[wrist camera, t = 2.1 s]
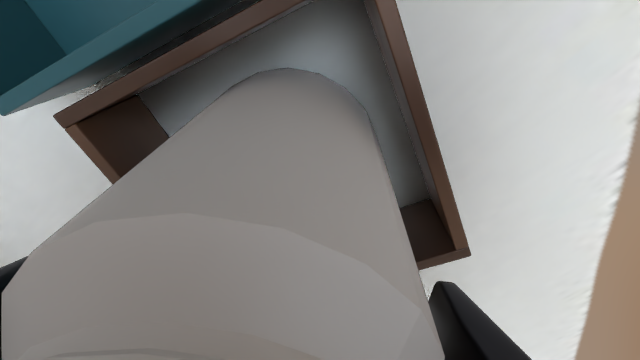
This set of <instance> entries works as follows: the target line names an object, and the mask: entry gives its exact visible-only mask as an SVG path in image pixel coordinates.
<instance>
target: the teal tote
mask: <svg viewBox="0 0 640 360" xmlns="http://www.w3.org/2000/svg"><path fill="white" fill-rule="evenodd" d="M241 1H242V0H0V114H1V115H2V116H6V115H9V114H11V113H14V112H17V111H20V110H23V109H26V108H29V107H32V106H34V105H37V104H40V103H43V102H46V101H49V100H52V99H55V98H57V97H60V96H63V95H66V94H69V93H72V92H75V91H78V90H80V89H83V88H86V87H89V86H91V85H93V84H95V83H97V82H98V81H100V80H102V79H104V78H105V77H107V76H109V75H111V74H113V73H114V72H116V71H118V70H120V69H121V68H123V67H125V66H127V65H129V64H130V63H132V62H134V61H136V60H137V59H139V58H141V57H143V56H145V55H146V54H148V53H150V52H152V51H153V50H155V49H157V48H159V47H161V46H162V45H164V44H166V43H168V42H169V41H171V40H173V39H175V38H177V37H178V36H180V35H182V34H184V33H185V32H187V31H189V30H191V29H193V28H194V27H196V26H198V25H200V24H201V23H203V22H205V21H207V20H209V19H210V18H212V17H214V16H216V15H218V14H219V13H221V12H223V11H225V10H226V9H228V8H230V7H232V6H234V5H235V4H237V3H239V2H241Z"/></svg>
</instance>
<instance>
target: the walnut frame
mask: <svg viewBox="0 0 640 360" xmlns="http://www.w3.org/2000/svg"><path fill="white" fill-rule="evenodd" d="M312 1H314V0H261V1H259V2H257V3H255V4H253V5H252V6H250V7H248V8H246V9H244V10H243V11H241V12H239V13H237V14H235V15H234V16H232V17H230V18H228V19H226V20H224V21H223V22H221V23H219V24H217V25H215V26H214V27H212V28H210V29H208V30H206V31H205V32H203V33H201V34H199V35H197V36H196V37H194V38H192V39H190V40H188V41H187V42H185V43H183V44H181V45H179V46H177V47H176V48H174V49H172V50H170V51H168V52H167V53H165V54H163V55H161V56H159V57H158V58H156V59H154V60H152V61H150V62H149V63H147V64H145V65H143V66H141V67H140V68H138V69H136V70H134V71H132V72H130V73H129V74H127V75H125V76H123V77H121V78H120V79H118V80H116V81H114V82H112V83H111V84H109V85H107V86H105V87H103V88H102V89H100V90H98V91H96V92H94V93H93V94H91V95H89V96H87V97H85V98H83V99H82V100H80V101H78V102H76V103H74V104H73V105H71V106H69V107H67V108H65V109H64V110H62V111H60V112H58V113H56V114H55V115H54V116H53V117H54V118H55V120H56V121H57V122H58V123H59V124H60V125H61V126H62V127H63V128H66V129H65V131H66V132H67V133H68V134H69V135H70V136H71V138H72V139H73V140H74V141H75V142H76V143H77V144H78V146H79V147H80V148H81V149H82V150H83V151H84V152H85V153H86V155H87V156H88V157H89V158H90V159H91V160H92V161H93V163H94V164H95V165H96V166H97V167H98V168H99V169H100V171H101V172H102V173H103V174H104V175H105V176H106V177H107V178H108V180H109V181H110V182H111V183H112V184H114V183H116V182H117V181H118V180H119V179H121V178H122V177H123V176H124V175H125V174H127V173H128V172H129V171H130V170H131V169H133V168H134V167H135V166H136V165H137V164H139V163H140V162H141V161H142V160H144V159H145V158H146V157H147V156H148V155H150V154H151V153H152V152H153V151H154V150H156V149H157V148H158V147H159V146H160V145H162V144H163V143H164V142H165V141H167V140H168V139H169V137H168V136H167V134H166V133H165V132H164V130H163V129H162V128H161V126H160V125H159V123H158V122H157V121H156V119H155V118H154V117H153V115H152V114H151V112H150V111H149V110H148V108H147V107H146V105H145V104H144V103H143V101H142V100H141V99H140V97H139V96H138V95H136V94H138V93H140V92H142V91H144V90H146V89H148V88H150V87H152V86H153V85H155V84H157V83H159V82H161V81H163V80H165V79H167V78H169V77H170V76H172V75H174V74H176V73H178V72H180V71H182V70H184V69H186V68H188V67H189V66H191V65H193V64H195V63H197V62H199V61H201V60H203V59H205V58H206V57H208V56H210V55H212V54H214V53H216V52H218V51H220V50H222V49H223V48H225V47H227V46H229V45H231V44H233V43H235V42H237V41H239V40H241V39H242V38H244V37H246V36H248V35H250V34H252V33H254V32H256V31H258V30H259V29H261V28H263V27H265V26H267V25H269V24H271V23H273V22H275V21H276V20H278V19H280V18H282V17H284V16H286V15H288V14H290V13H292V12H293V11H295V10H297V9H299V8H301V7H303V6H305V5H307V4H309V3H311V2H312ZM363 1H364V4H365V7H366V10H367V13H368V16H369V19H370V22H371V25H372V28H373V30H374V33H375V36H376V39H377V42H378V45H379V48H380V51H381V54H382V57H383V60H384V63H385V66H386V69H387V72H388V75H389V77H390V80H391V83H392V86H393V89H394V92H395V95H396V98H397V101H398V104H399V107H400V110H401V113H402V116H403V119H404V122H405V124H406V127H407V130H408V133H409V136H410V139H411V142H412V145H413V148H414V151H415V154H416V157H417V160H418V163H419V166H420V169H421V171H422V174H423V177H424V180H425V183H426V186H427V189H428V192H429V195H430V199H427V200H424V201H421V202H418V203H415V204H412V205H409V206H406V207H403V208H400V209H399V210H400V213H401V216H402V219H403V223H404V226H405V229H406V232H407V236H408V239H409V242H410V245H411V249H412V252H413V255H414V258H415V261H416V265H417V268H418V271H419V270H422V269H426V268H429V267H433V266H437V265H440V264H444V263H447V262H451V261H454V260H458V259H462V258H465V257H469V256H471V252H470V249H469V246H468V242H467V239H466V236H465V232H464V229H463V226H462V222H461V219H460V216H459V212H458V209H457V205H456V202H455V199H454V195H453V192H452V189H451V185H450V182H449V179H448V175H447V172H446V169H445V165H444V162H443V159H442V155H441V152H440V149H439V145H438V142H437V138H436V135H435V132H434V128H433V125H432V122H431V118H430V115H429V112H428V108H427V105H426V102H425V98H424V95H423V92H422V88H421V85H420V82H419V78H418V75H417V71H416V68H415V65H414V61H413V58H412V55H411V51H410V48H409V45H408V41H407V38H406V35H405V31H404V28H403V25H402V21H401V18H400V15H399V11H398V8H397V4H396V1H395V0H363Z"/></svg>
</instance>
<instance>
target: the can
mask: <svg viewBox="0 0 640 360" xmlns="http://www.w3.org/2000/svg"><path fill="white" fill-rule="evenodd" d="M1 351H2V360H445V355H444V352H443V349H442V346H441V342H440V339H439V336H438V333H437V330H436V326H435V323H434V320H433V317H432V313H431V310H430V307H429V304H428V300H427V297H426V294H425V291H424V287H423V284H422V281H421V278H420V274H419V271H418V268H417V265H416V261H415V258H414V255H413V252H412V249H411V245H410V242H409V239H408V236H407V232H406V229H405V226H404V223H403V219H402V216H401V213H400V210H399V206H398V203H397V200H396V197H395V193H394V190H393V187H392V184H391V180H390V177H389V174H388V171H387V168H386V164H385V161H384V158H383V155H382V151H381V148H380V145H379V142H378V138H377V135H376V133H375V130H374V128H373V126H372V124H371V121H370V119H369V117H368V114H367V112H366V110H365V109H364V107H363V106H362V105H361V104H360V103H359V102H358V101H357V100H356V99H355V98H354V97H353V96H352V95H351V93H350V92H349V91H348V90H347V89H346V88H345V87H343V86H341V85H339V84H337V83H335V82H334V81H332V80H330V79H328V78H326V77H324V76H323V75H321V74H319V73H314V72H309V71H303V70H298V69H292V68H283V69H276V70H270V71H263V72H257V73H256V74H254V75H252V76H250V77H248V78H246V79H245V80H243V81H241V82H239V83H237V84H235V85H233V86H232V87H231V88H229V89H228V90H227V91H226V92H225V93H223V94H222V95H221V96H220V97H219V98H217V99H216V100H215V101H214V102H213V103H211V104H210V105H209V106H208V107H206V108H205V109H204V110H203V111H202V112H200V113H199V114H198V115H197V116H196V117H194V118H193V119H192V120H191V121H190V122H188V123H187V124H186V125H185V126H183V127H182V128H181V129H180V130H179V131H177V132H176V133H175V134H174V135H173V136H171V137H170V138H169V139H168V140H167V141H165V142H164V143H163V144H162V145H160V146H159V147H158V148H157V149H156V150H154V151H153V152H152V153H151V154H150V155H148V156H147V157H146V158H145V159H144V160H142V161H141V162H140V163H139V164H137V165H136V166H135V167H134V168H133V169H131V170H130V171H129V172H128V173H127V174H125V175H124V176H123V177H122V178H121V179H119V180H118V181H117V182H116V183H114V184H113V185H112V186H111V187H110V188H108V189H107V190H106V191H105V192H104V193H102V194H101V195H100V196H99V197H98V198H96V199H95V200H94V201H93V202H91V203H90V204H89V205H88V206H87V207H85V208H84V209H83V210H82V211H81V212H79V213H78V214H77V215H76V216H75V217H73V218H72V219H71V220H70V221H69V222H67V223H66V224H65V225H64V226H62V227H61V228H60V229H59V230H58V231H56V232H55V233H54V234H53V235H52V236H50V237H49V238H48V239H47V240H46V241H44V242H43V243H42V244H41V245H39V246H38V247H37V248H36V249H35V250H33V251H32V252H31V254H30V255H29V256H28V258H27V259H26V260H25V262H24V263H23V264H22V266H21V267H20V269H19V270H18V271H17V273H16V274H15V275H14V277H13V278H12V280H11V281H10V282H9V284H8V285H7V286H6V288H5V289H4V290H3V292H2V305H1Z"/></svg>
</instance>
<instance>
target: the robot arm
mask: <svg viewBox="0 0 640 360" xmlns="http://www.w3.org/2000/svg"><path fill="white" fill-rule="evenodd" d="M27 258H28V256H27V257H24V258H22V259H20V260H18V261H15V262H13V263H11V264H8V265H6V266H4V267H2V268H0V360H2V351H1V305H2V292H3V290H4V289H5V288H6V286H7V285H8V284H9V282H10V281H11V280H12V278H13V277H14V275H15V274H16V273H17V271H18V270H19V269H20V267H21V266H22V264H23V263H24V262H25V260H26V259H27ZM428 304H429V307H430V310H431V313H432V317H433V320H434V323H435V326H436V330H437V333H438V336H439V339H440V342H441V346H442V349H443V352H444V355H445V360H532V359H531V358H530V357H529V356H528V355H527V354H525V353H524V352H523V351H522V350H521V349H520V348H519V347H518V346H517V345H516V344H515V343H514V342H513V341H512V340H511V339H510V338H509V337H508V336H507V335H506V334H505V333H504V332H503V331H502V330H501V329H500V328H499V327H498V326H497V325H496V324H495V323H494V322H493V321H492V320H491V319H490V318H489V317H488V316H487V315H486V314H485V313H484V312H483V311H482V310H481V309H480V308H479V307H478V306H477V305H476V304H475V303H474V302H473V301H472V300H471V299H470V298H469V297H468V296H467V295H466V294H465V293H464V292H463V291H462V290H461V289H460V288H459V287H458V286H457V285H456V284H454V283H452V282H443V281H438V282H436V283H435V285H434V288H433V290H432V293H431V296H430V298H429V301H428Z"/></svg>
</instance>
